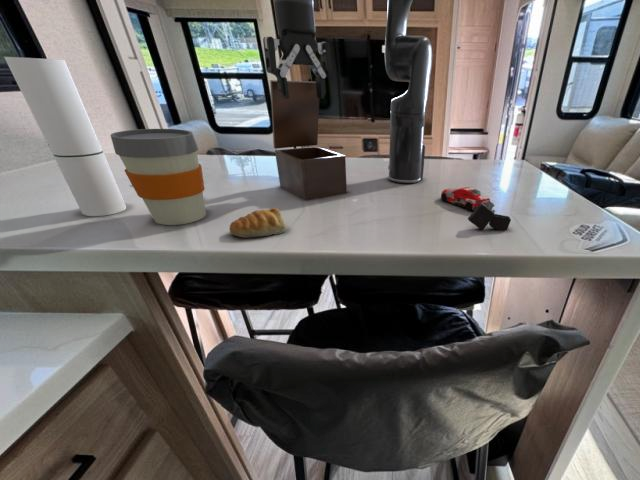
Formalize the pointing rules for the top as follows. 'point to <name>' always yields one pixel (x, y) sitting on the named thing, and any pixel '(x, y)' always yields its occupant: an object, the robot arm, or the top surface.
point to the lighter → (488, 217)
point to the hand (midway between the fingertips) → (303, 98)
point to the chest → (311, 172)
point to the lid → (295, 115)
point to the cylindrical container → (68, 133)
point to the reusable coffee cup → (164, 172)
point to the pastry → (259, 224)
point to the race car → (465, 197)
